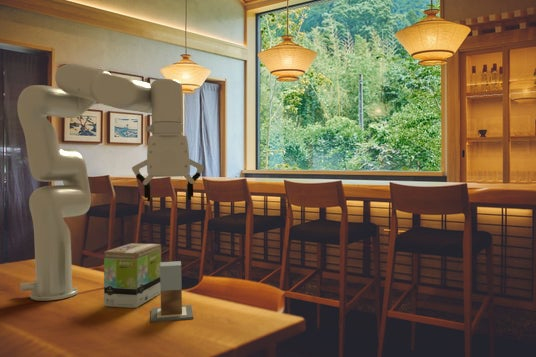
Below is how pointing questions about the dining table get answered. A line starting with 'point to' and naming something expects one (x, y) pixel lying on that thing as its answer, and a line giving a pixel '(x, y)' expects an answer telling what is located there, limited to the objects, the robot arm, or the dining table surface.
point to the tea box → (131, 275)
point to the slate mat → (185, 314)
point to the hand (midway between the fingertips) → (169, 200)
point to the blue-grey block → (170, 276)
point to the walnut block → (171, 302)
